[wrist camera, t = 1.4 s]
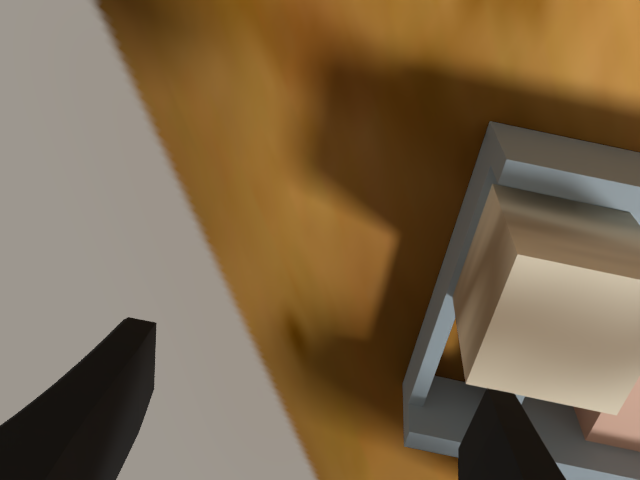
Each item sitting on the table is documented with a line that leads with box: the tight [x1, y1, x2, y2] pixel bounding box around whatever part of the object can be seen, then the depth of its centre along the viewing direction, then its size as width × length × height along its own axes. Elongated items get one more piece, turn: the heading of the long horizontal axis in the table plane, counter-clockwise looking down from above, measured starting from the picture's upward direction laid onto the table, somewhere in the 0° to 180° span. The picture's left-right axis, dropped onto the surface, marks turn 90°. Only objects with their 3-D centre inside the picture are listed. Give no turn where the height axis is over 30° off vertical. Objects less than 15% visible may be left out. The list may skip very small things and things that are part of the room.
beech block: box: [452, 184, 640, 415], centre depth 19 cm, size 4×4×4 cm
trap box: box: [403, 121, 640, 480], centre depth 22 cm, size 12×13×4 cm
